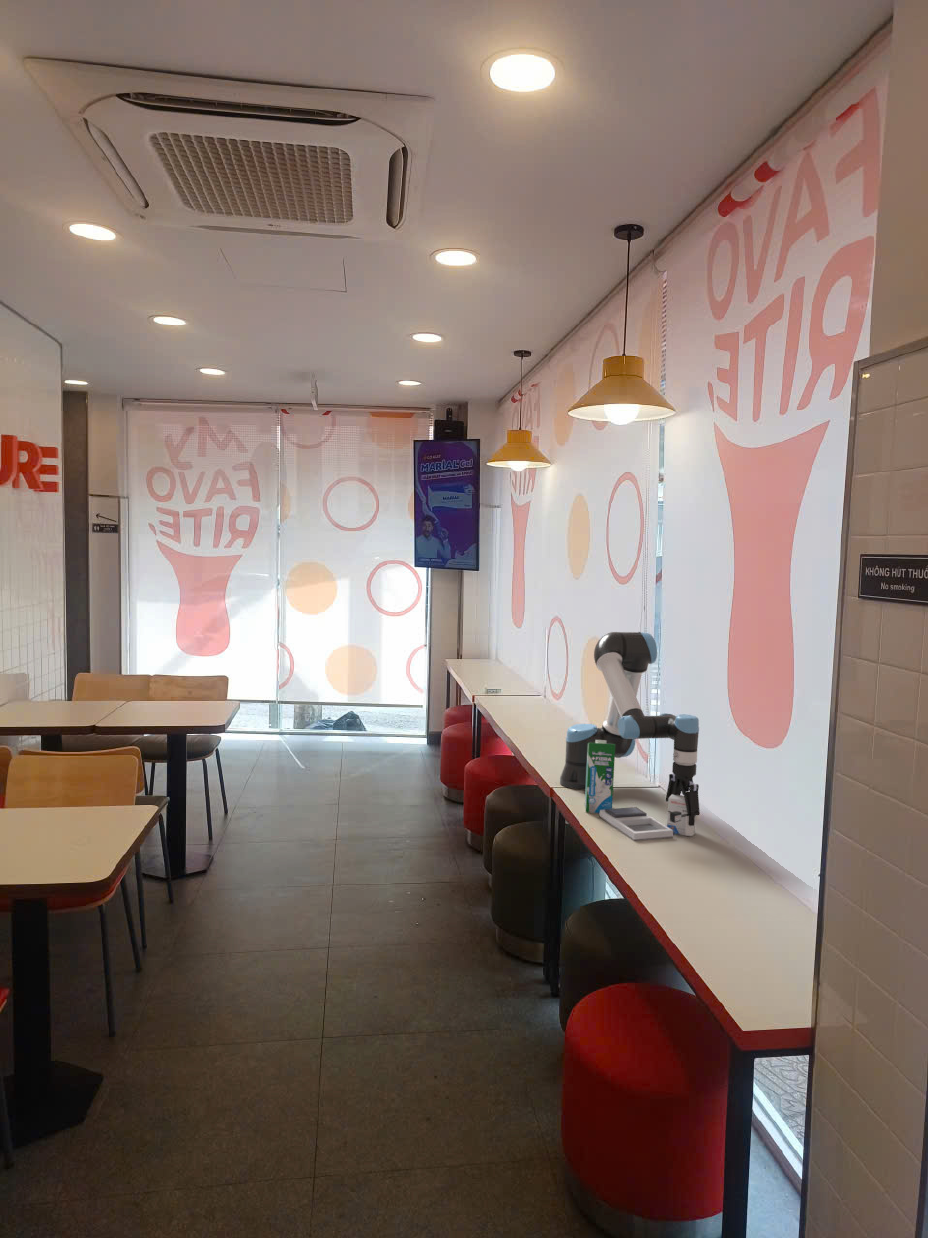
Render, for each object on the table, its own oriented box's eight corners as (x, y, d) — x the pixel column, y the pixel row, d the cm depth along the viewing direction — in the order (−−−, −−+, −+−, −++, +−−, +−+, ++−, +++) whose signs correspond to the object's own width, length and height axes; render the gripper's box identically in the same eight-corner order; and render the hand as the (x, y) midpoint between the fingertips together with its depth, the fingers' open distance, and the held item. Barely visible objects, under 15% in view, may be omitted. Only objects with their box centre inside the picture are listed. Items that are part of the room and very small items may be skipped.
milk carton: (609, 806, 298) (613, 738, 296) (611, 814, 290) (615, 743, 287) (584, 804, 299) (587, 736, 297) (585, 812, 290) (589, 742, 288)
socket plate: (599, 817, 286) (599, 810, 286) (635, 814, 290) (635, 807, 290) (634, 841, 263) (634, 833, 263) (672, 837, 267) (673, 830, 267)
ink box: (665, 832, 273) (667, 797, 272) (669, 828, 277) (671, 793, 276) (692, 837, 269) (694, 801, 268) (695, 832, 273) (697, 798, 272)
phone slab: (605, 811, 284) (605, 809, 284) (636, 809, 288) (636, 806, 288) (614, 818, 277) (614, 815, 277) (646, 815, 281) (646, 813, 281)
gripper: (657, 754, 280) (653, 819, 282) (693, 772, 259) (689, 841, 261) (676, 753, 282) (672, 818, 284) (714, 770, 262) (709, 840, 264)
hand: (680, 829), depth 273 cm, fingers closed on ink box, 9 cm apart
